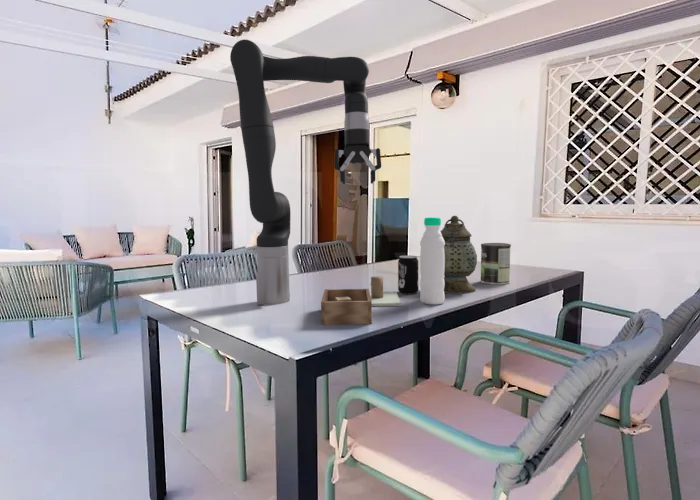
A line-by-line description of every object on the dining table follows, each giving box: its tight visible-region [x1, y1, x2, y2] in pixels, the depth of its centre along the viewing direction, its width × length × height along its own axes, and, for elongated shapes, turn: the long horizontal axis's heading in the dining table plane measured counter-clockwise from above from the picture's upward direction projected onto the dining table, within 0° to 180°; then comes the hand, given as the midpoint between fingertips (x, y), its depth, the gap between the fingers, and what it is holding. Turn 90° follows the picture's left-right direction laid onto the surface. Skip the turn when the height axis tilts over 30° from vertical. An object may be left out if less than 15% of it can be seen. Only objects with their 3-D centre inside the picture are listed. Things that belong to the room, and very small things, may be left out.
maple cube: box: [335, 296, 351, 301], centre depth 114 cm, size 4×4×4 cm
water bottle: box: [419, 216, 445, 306], centre depth 124 cm, size 7×7×25 cm
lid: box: [369, 275, 403, 307], centre depth 127 cm, size 13×17×8 cm
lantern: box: [440, 215, 478, 295], centre depth 142 cm, size 14×14×25 cm
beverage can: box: [397, 254, 419, 295], centre depth 140 cm, size 7×7×12 cm
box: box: [320, 288, 373, 326], centre depth 109 cm, size 12×16×6 cm
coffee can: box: [480, 242, 512, 286], centre depth 155 cm, size 10×10×14 cm
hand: (358, 183), depth 130 cm, fingers open, 8 cm apart
